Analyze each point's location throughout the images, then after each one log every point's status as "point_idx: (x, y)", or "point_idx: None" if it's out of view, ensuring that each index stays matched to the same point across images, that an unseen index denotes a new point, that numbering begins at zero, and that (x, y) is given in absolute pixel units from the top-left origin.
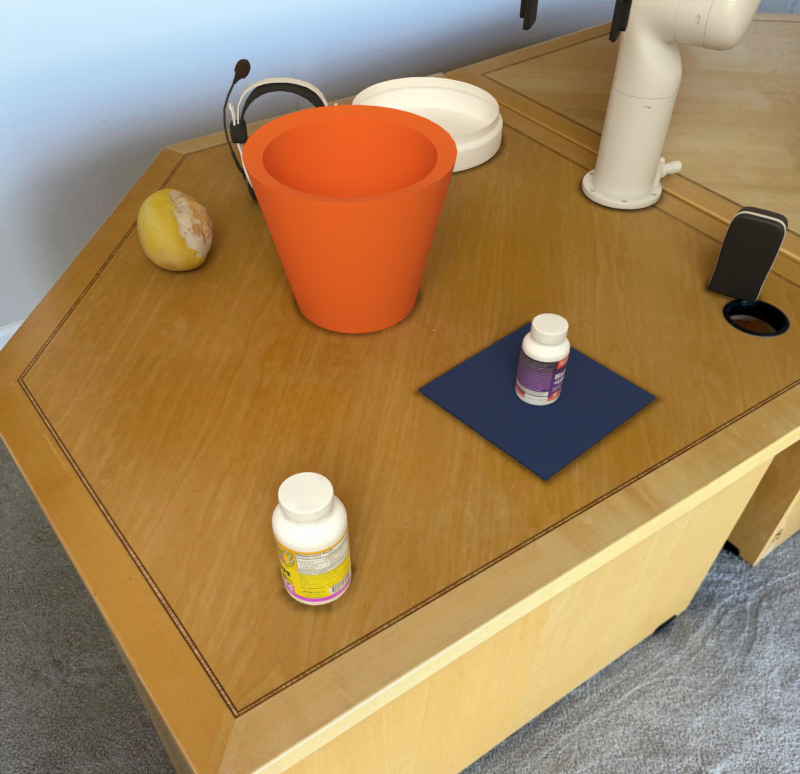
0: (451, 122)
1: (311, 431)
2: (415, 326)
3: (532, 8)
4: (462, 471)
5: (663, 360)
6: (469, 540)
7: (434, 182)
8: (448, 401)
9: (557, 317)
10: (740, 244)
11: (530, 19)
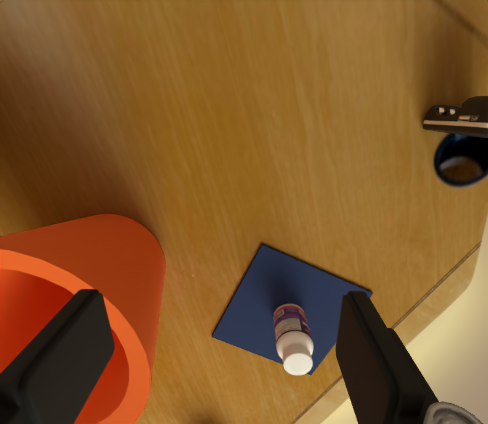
0: None
1: (168, 380)
2: (177, 276)
3: (86, 381)
4: (263, 380)
5: (377, 248)
6: (281, 413)
7: (147, 397)
8: (234, 340)
9: (302, 356)
10: (479, 135)
11: (102, 366)
